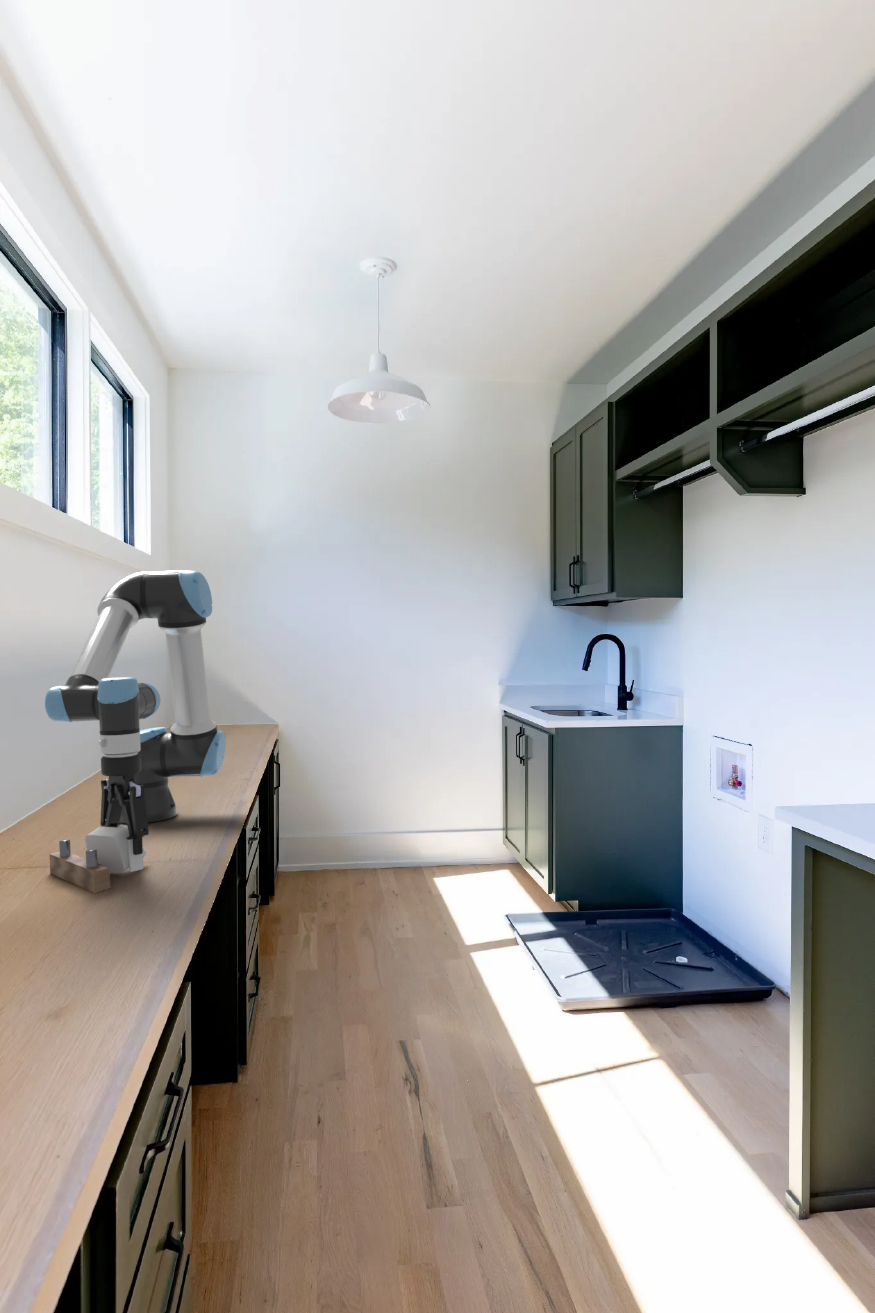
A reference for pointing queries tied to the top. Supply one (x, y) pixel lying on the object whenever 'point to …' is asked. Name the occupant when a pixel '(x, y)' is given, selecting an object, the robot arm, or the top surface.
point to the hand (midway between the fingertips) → (125, 866)
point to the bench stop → (79, 868)
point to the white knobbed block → (111, 847)
